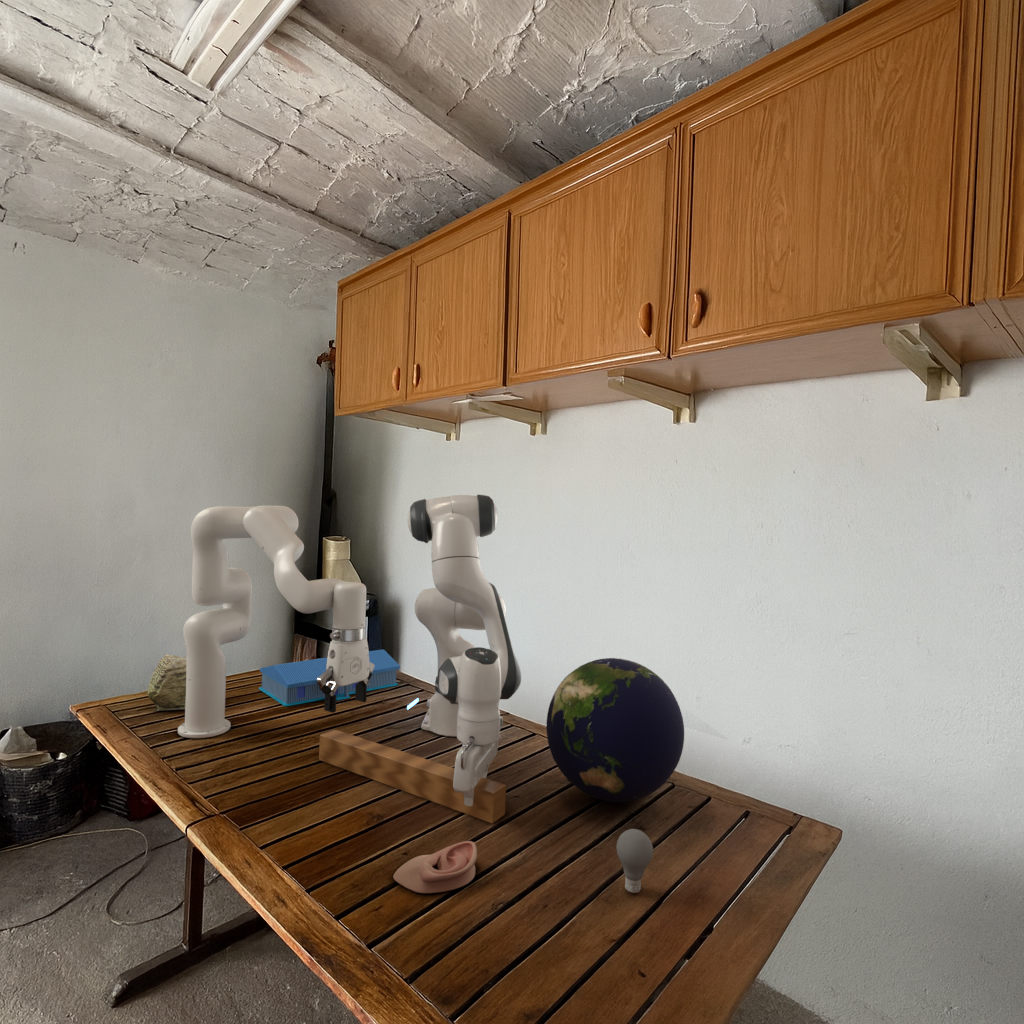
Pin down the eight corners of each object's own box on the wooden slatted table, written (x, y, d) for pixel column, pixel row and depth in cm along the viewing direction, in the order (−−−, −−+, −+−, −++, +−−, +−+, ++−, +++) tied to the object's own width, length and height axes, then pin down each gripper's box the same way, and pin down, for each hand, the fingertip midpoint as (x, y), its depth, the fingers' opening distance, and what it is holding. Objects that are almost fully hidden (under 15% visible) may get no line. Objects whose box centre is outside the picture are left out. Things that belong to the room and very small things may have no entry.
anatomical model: (386, 863, 103) (411, 828, 115) (385, 887, 104) (410, 850, 115) (465, 876, 101) (482, 839, 112) (463, 901, 101) (481, 861, 112)
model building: (289, 709, 186) (291, 675, 185) (258, 688, 204) (259, 657, 204) (403, 687, 212) (405, 657, 212) (366, 670, 230) (368, 643, 230)
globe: (523, 809, 132) (530, 666, 131) (566, 757, 160) (571, 639, 159) (669, 844, 121) (677, 688, 120) (688, 782, 148) (694, 654, 148)
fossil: (144, 707, 182) (145, 655, 182) (212, 696, 194) (213, 647, 194) (151, 716, 175) (153, 662, 175) (221, 703, 188) (223, 653, 188)
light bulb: (610, 879, 108) (613, 822, 108) (644, 879, 109) (647, 822, 109) (619, 902, 102) (622, 840, 102) (655, 901, 103) (658, 840, 103)
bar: (318, 759, 152) (319, 734, 152) (333, 753, 156) (334, 729, 156) (492, 823, 126) (493, 793, 126) (505, 814, 130) (506, 784, 130)
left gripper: (331, 643, 141) (328, 719, 141) (385, 631, 156) (382, 700, 156) (308, 638, 145) (305, 712, 145) (363, 626, 160) (360, 694, 160)
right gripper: (478, 749, 120) (475, 822, 120) (505, 715, 140) (502, 777, 140) (446, 745, 121) (443, 817, 121) (477, 711, 141) (474, 773, 141)
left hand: (345, 705), depth 151 cm, fingers open, 9 cm apart
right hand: (475, 795), depth 131 cm, fingers open, 7 cm apart
